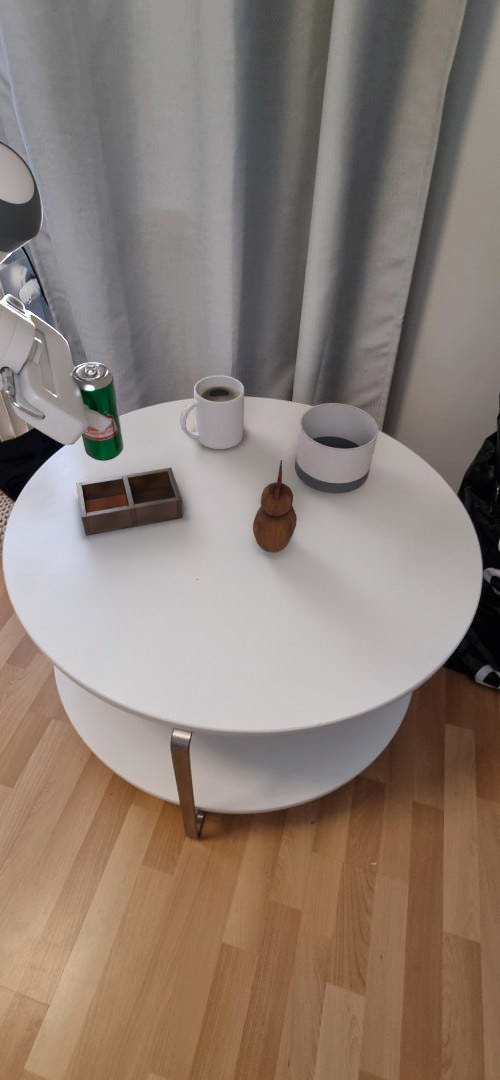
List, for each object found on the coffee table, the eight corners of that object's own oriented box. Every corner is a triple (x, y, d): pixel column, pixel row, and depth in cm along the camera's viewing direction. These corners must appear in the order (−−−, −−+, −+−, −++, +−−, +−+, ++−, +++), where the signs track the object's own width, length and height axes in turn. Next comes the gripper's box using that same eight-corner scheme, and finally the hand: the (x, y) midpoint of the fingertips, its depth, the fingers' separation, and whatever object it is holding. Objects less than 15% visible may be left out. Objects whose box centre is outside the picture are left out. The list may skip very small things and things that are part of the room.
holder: (85, 536, 91) (81, 517, 88) (80, 501, 96) (76, 482, 93) (183, 518, 94) (181, 499, 91) (172, 485, 100) (171, 467, 97)
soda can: (85, 464, 77) (68, 384, 68) (85, 441, 80) (69, 361, 71) (124, 461, 77) (112, 381, 69) (123, 437, 81) (111, 359, 72)
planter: (381, 487, 101) (394, 438, 94) (317, 507, 97) (325, 458, 89) (342, 444, 109) (351, 396, 101) (281, 462, 105) (285, 413, 97)
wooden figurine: (267, 522, 94) (273, 448, 83) (299, 537, 92) (309, 462, 81) (245, 549, 90) (248, 474, 79) (278, 564, 88) (286, 490, 77)
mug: (245, 423, 113) (247, 377, 105) (239, 453, 106) (241, 407, 99) (189, 418, 113) (187, 371, 106) (180, 448, 107) (177, 401, 99)
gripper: (22, 377, 57) (133, 440, 66) (9, 287, 70) (104, 351, 79) (-13, 422, 59) (99, 478, 69) (-19, 327, 72) (76, 385, 82)
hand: (102, 409), depth 74 cm, fingers closed on soda can, 5 cm apart
